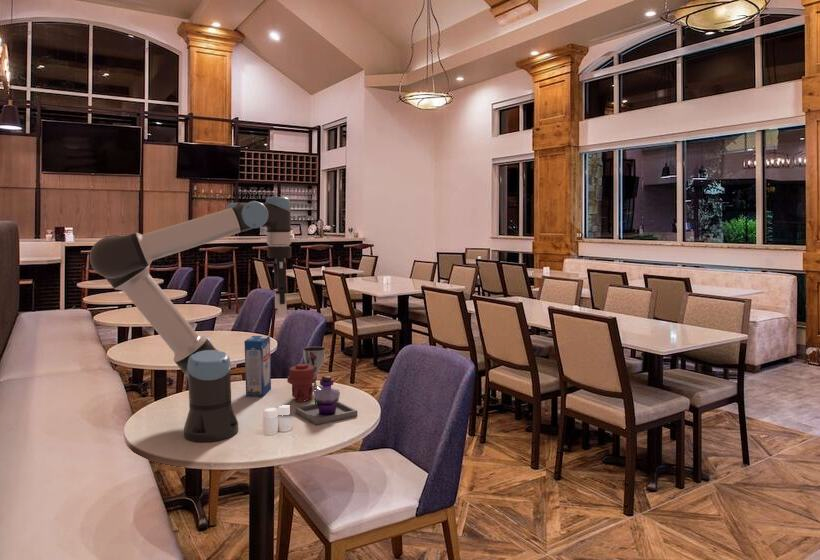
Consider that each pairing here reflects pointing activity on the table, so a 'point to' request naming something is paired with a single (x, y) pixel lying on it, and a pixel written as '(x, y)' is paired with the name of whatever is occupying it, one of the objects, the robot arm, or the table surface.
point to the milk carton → (257, 366)
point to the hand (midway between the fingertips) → (280, 311)
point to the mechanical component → (302, 381)
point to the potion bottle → (326, 397)
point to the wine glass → (314, 360)
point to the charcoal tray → (313, 415)
